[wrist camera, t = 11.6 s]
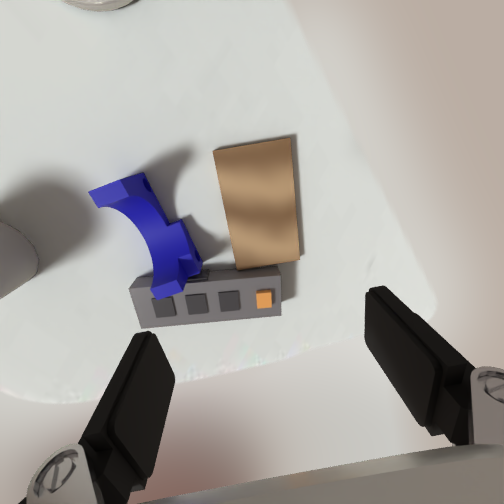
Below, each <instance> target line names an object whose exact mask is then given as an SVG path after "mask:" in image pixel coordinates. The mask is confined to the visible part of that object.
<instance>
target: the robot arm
mask: <svg viewBox="0 0 504 504" xmlns="http://www.w3.org/2000/svg"><path fill="white" fill-rule="evenodd" d="M62 1H64V2H65V3H67V4H69V5H72V6H75V7H78V8H80V9H83V10H90V11H97V12H101V11H110V10H115V9H118V8H120V7H123V6H125V5H127V4H129V3H130V2H132V1H133V0H62ZM364 337H365V342H366V345H367V347H368V348H369V350H370V351H371V353H372V354H373V356H374V357H375V359H376V360H377V362H378V363H379V365H380V366H381V368H382V370H383V371H384V373H385V374H386V376H387V377H388V379H389V380H390V382H391V383H392V385H393V386H394V388H395V389H396V391H397V392H398V394H399V395H400V397H401V398H402V400H403V401H404V403H405V404H406V406H407V407H408V409H409V410H410V412H411V414H412V415H413V416H414V418H415V420H416V421H417V422H418V424H419V425H420V426H422V427H424V426H425V427H426V429H427V430H428V432H429V433H430V435H431V436H436V435H441V434H445V436H446V437H447V438H448V440H449V441H450V442H451V443H452V447H445V448H439V449H432V450H426V451H419V452H413V453H407V454H401V455H395V456H389V457H384V458H379V459H373V460H367V461H362V462H356V463H350V464H345V465H339V466H334V467H328V468H322V469H317V470H311V471H306V472H301V473H296V474H290V475H284V476H279V477H273V478H268V479H263V480H258V481H252V482H247V483H241V484H236V485H231V486H226V487H220V488H215V489H210V490H204V491H199V492H194V493H189V494H184V495H178V496H173V497H168V498H163V499H158V500H153V501H149V502H144V503H140V504H504V370H503V369H500V368H495V367H479V368H475V367H474V366H473V365H472V364H470V363H469V361H467V360H466V359H465V358H464V357H463V356H462V355H461V354H460V353H459V352H458V351H456V349H454V348H453V347H452V346H451V345H450V344H449V343H448V342H447V341H446V340H445V339H444V338H443V337H441V335H439V334H438V333H437V332H436V331H435V330H434V329H433V328H432V327H431V326H430V325H429V324H428V323H427V322H425V321H424V320H423V319H422V318H421V317H420V316H419V315H417V314H416V313H414V312H412V311H411V310H410V309H409V308H408V307H407V306H406V305H405V304H404V303H403V302H402V301H401V300H400V299H399V298H398V297H397V296H395V295H394V294H393V293H392V292H391V291H390V290H389V289H388V288H387V287H386V286H378V287H373V288H370V289H369V292H366V295H365V336H364ZM174 384H175V375H174V373H173V370H172V368H171V366H170V364H169V362H168V360H167V358H166V355H165V353H164V351H163V349H162V347H161V345H160V343H159V341H158V338H157V336H156V335H155V334H154V333H153V334H152V333H151V332H150V331H146V332H141V333H136V334H135V335H134V336H133V338H132V340H131V342H130V344H129V346H128V348H127V350H126V352H125V353H124V355H123V357H122V359H121V361H120V363H119V365H118V367H117V369H116V371H115V373H114V375H113V377H112V379H111V380H110V382H109V384H108V386H107V388H106V390H105V392H104V394H103V396H102V398H101V400H100V402H99V404H98V406H97V408H96V409H95V411H94V413H93V415H92V417H91V419H90V421H89V423H88V425H87V427H86V429H85V431H84V432H83V434H82V437H81V439H80V440H79V442H78V444H69V445H67V446H64V447H62V448H61V449H59V450H57V451H56V452H54V453H53V454H52V455H51V456H50V457H49V458H48V459H46V460H45V462H44V463H43V464H42V465H41V466H40V467H39V468H38V470H37V471H36V473H35V474H34V476H33V477H32V479H31V481H30V484H29V486H28V490H27V495H26V497H25V498H24V499H23V500H22V501H21V502H20V503H19V504H128V503H127V502H128V500H129V496H130V492H134V491H139V490H144V489H145V486H146V483H147V479H148V478H149V477H150V476H151V475H152V473H153V470H154V466H155V462H156V458H157V453H158V449H159V445H160V441H161V437H162V433H163V428H164V425H165V421H166V417H167V412H168V409H169V405H170V400H171V396H172V392H173V388H174Z"/></svg>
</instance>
